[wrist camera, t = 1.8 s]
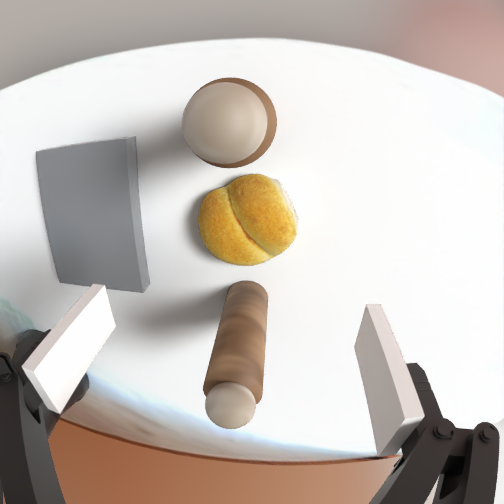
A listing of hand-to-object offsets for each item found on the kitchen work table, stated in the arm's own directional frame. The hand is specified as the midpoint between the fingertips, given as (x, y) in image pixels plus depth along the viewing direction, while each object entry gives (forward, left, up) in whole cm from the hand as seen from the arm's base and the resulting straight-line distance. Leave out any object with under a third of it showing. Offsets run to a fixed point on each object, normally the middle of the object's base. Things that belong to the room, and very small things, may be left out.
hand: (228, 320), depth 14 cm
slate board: (-17, 0, -16) cm, 23 cm away
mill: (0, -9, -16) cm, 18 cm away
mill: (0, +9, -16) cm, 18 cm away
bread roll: (0, 0, -16) cm, 16 cm away
